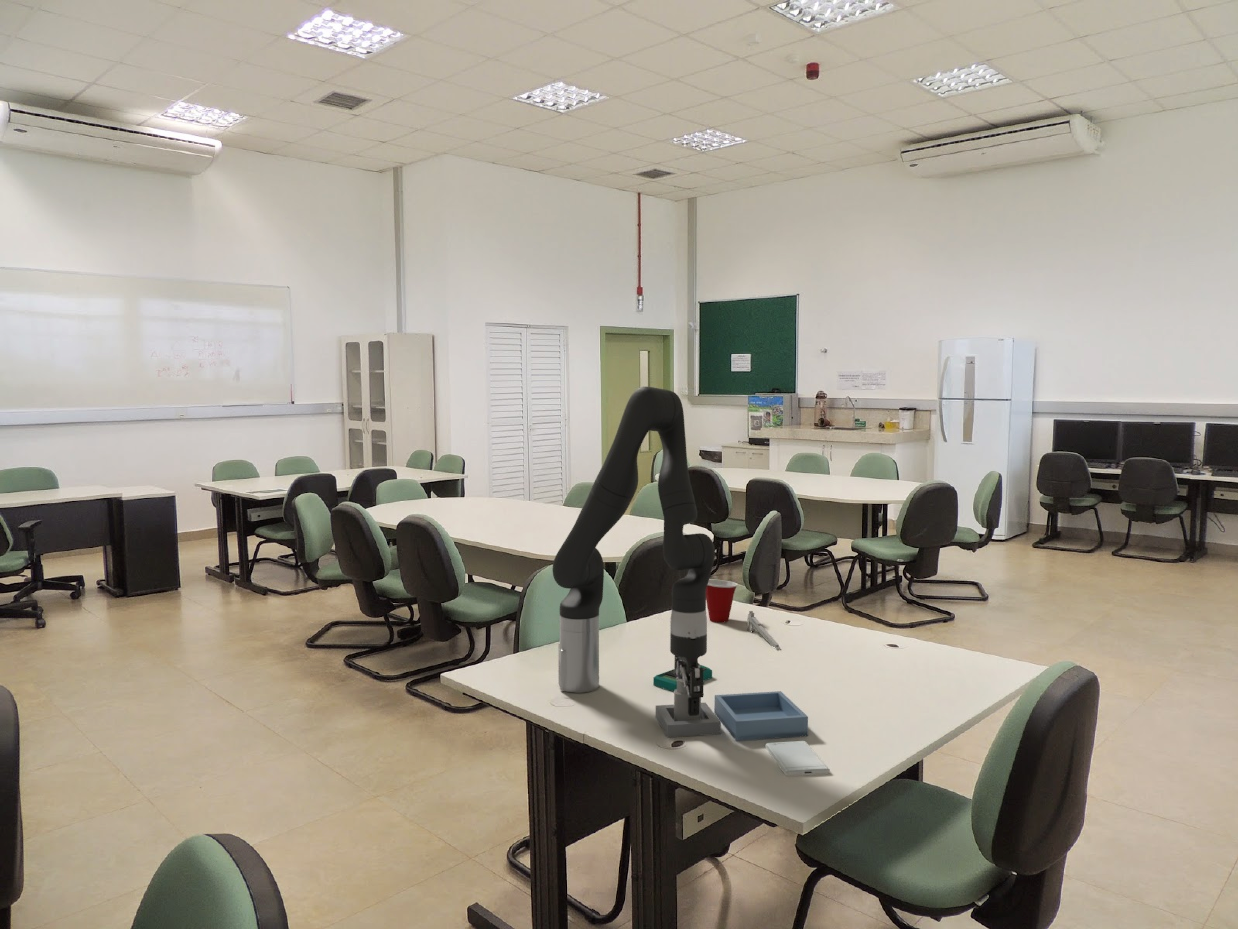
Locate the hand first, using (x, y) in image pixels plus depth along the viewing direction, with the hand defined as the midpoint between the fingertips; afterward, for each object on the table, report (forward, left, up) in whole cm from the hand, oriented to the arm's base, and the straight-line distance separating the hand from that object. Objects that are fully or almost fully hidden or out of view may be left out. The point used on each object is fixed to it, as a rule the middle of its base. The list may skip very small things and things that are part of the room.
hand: (688, 707), depth 176 cm
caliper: (+37, +57, -4) cm, 68 cm away
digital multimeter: (+6, +27, -4) cm, 28 cm away
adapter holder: (0, 0, -4) cm, 4 cm away
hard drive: (+16, -20, -5) cm, 26 cm away
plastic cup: (+31, +79, -4) cm, 85 cm away
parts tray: (+15, -2, -4) cm, 15 cm away
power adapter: (0, 0, -4) cm, 4 cm away
